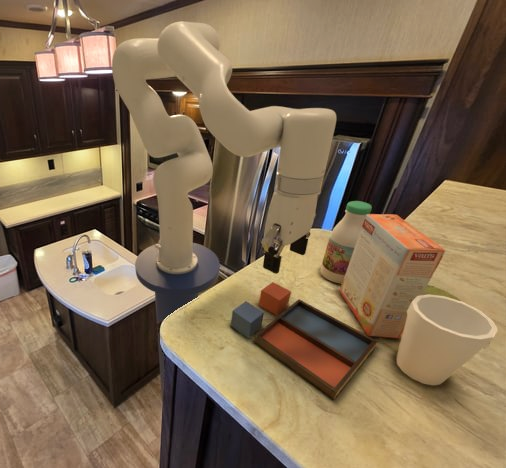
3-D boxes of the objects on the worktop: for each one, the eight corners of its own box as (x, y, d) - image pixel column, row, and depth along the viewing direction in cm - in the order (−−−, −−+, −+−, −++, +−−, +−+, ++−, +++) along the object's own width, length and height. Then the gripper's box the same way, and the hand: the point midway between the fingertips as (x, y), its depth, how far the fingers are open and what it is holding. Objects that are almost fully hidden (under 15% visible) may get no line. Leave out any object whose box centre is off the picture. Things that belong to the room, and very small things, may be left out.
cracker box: (401, 340, 56) (449, 249, 46) (366, 337, 57) (406, 248, 47) (366, 292, 68) (398, 212, 58) (338, 291, 69) (364, 212, 59)
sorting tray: (253, 341, 58) (254, 334, 57) (297, 305, 66) (298, 298, 65) (333, 399, 47) (336, 392, 46) (374, 348, 55) (377, 340, 54)
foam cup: (399, 338, 56) (425, 287, 50) (464, 373, 50) (504, 318, 43) (376, 363, 52) (402, 311, 46) (444, 405, 45) (485, 350, 39)
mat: (386, 303, 65) (389, 297, 64) (402, 282, 70) (405, 276, 69) (455, 333, 57) (460, 326, 56) (468, 306, 62) (472, 299, 61)
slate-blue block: (230, 325, 62) (232, 310, 60) (243, 316, 65) (245, 300, 62) (248, 338, 59) (250, 323, 57) (261, 327, 61) (264, 312, 59)
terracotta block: (258, 304, 67) (261, 290, 65) (270, 296, 69) (272, 281, 67) (276, 315, 64) (279, 300, 62) (287, 306, 66) (291, 291, 64)
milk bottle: (334, 263, 79) (355, 195, 69) (362, 279, 72) (389, 206, 63) (312, 271, 77) (331, 201, 67) (339, 288, 70) (364, 214, 60)
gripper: (303, 168, 59) (290, 240, 67) (251, 190, 51) (243, 269, 59) (343, 175, 54) (323, 252, 62) (292, 201, 45) (277, 287, 53)
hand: (284, 261), depth 60 cm, fingers open, 9 cm apart
